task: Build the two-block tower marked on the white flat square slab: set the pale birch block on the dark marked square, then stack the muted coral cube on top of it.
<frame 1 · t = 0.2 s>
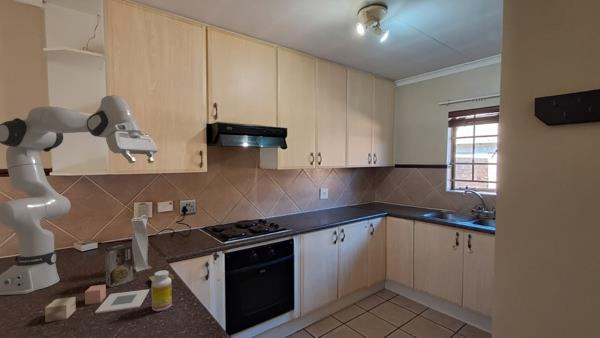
hand: (142, 162, 107), 54 cm above the counter, tool tilted 30°, fingers open, 8 cm apart
white flat square slab: (124, 301, 105), on the counter
supplement bottle: (162, 307, 100), on the counter
coral cube: (95, 300, 106), on the counter
coffee box: (119, 282, 122), on the counter
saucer: (161, 282, 123), on the counter
birch block: (61, 316, 95), on the counter
skyscraper: (141, 269, 138), on the counter
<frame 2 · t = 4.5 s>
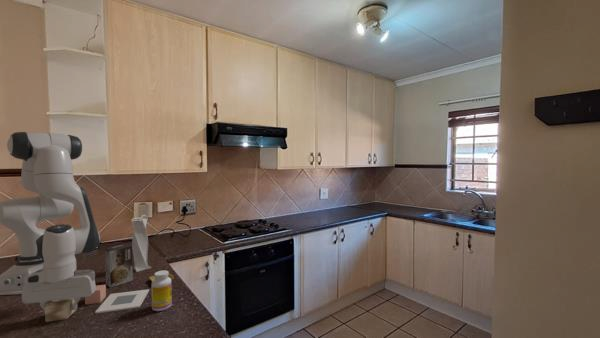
hand: (61, 311, 95), 2 cm above the counter, tool pointing down, fingers closed on birch block, 6 cm apart
birch block: (61, 315, 95), on the counter, touching gripper
everything else where it was.
when the fingers open (4 cm above the counter, at t = 9.6 s): birch block drops 1 cm, resting on white flat square slab.
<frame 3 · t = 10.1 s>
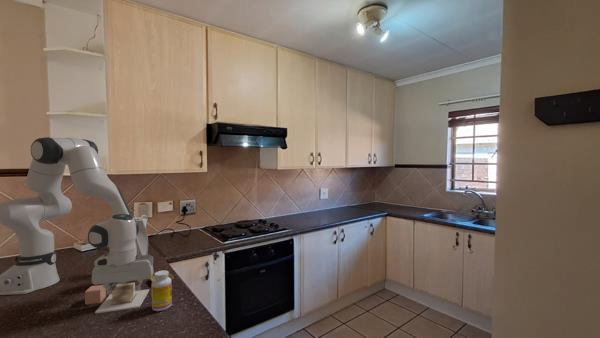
hand: (124, 292, 105), 4 cm above the counter, tool pointing down, fingers open, 8 cm apart
birch block: (124, 299, 105), point 1 cm above the counter, touching white flat square slab
everything else where it was.
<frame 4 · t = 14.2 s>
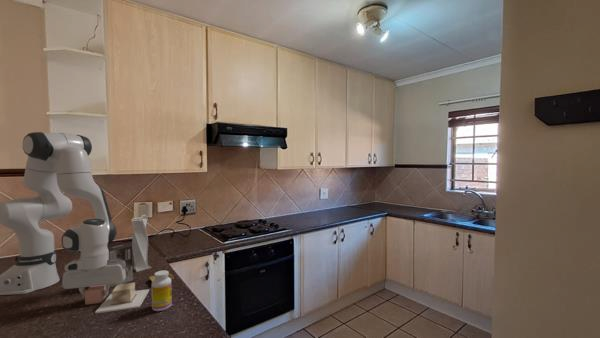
hand: (95, 296, 106), 2 cm above the counter, tool pointing down, fingers closed on coral cube, 5 cm apart
coral cube: (95, 300, 106), on the counter, touching gripper
everything else where it was.
when the fingers open (8 cm above the counter, at t = 19.4 s): coral cube drops 1 cm, resting on birch block.
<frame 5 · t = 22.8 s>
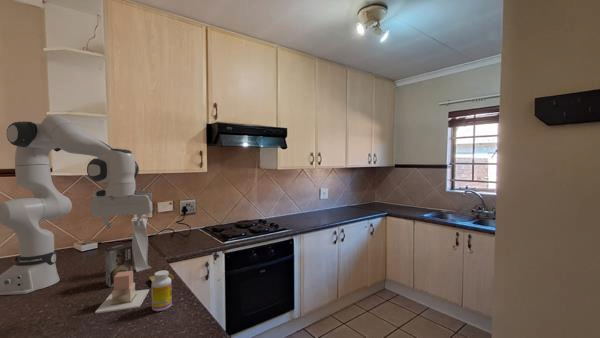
hand: (122, 226, 104), 29 cm above the counter, tool pointing down, fingers open, 8 cm apart
coral cube: (123, 286, 105), point 6 cm above the counter, touching birch block
birch block: (124, 299, 105), point 1 cm above the counter, touching white flat square slab, coral cube
everything else where it was.
at the end: birch block 0.1 cm off-centre on the white flat square slab, point 0.7 cm above the white flat square slab's base; coral cube 0.0 cm off-centre on the birch block, point 5.0 cm above the birch block's base; coral cube tilted 0° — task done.
